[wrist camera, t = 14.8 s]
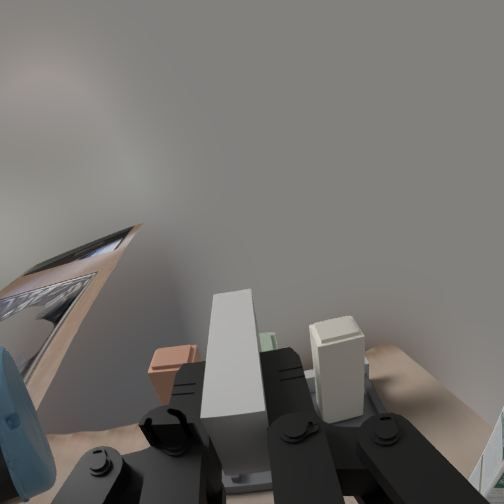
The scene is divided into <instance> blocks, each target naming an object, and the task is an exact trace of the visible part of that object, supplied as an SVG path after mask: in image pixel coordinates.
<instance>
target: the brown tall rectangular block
mask: <svg viewBox="0 0 504 504" xmlns="http://www.w3.org/2000/svg"><path fill="white" fill-rule="evenodd" d="M193 362H202V360H201V357H200V354H199V351H198V347H197V345H193V346H191V345H183V346H176V347H167V348H160V349H158V350H156V351H155V354H154V357H153V359H152V362H151V365H150V368H149V370H148V375H149V377H150V380H151V382H152V384H153V386H154V388H155V391H156V393H157V395H158V397H159V399H160V401H161V403H162V406H165V405H169V402H170V398H171V396H172V395H171V393H172V388H173V383H174V379H175V374H176V373H177V371H178V370H179V369H180V368H181V366H182V365H183V364H184V363H193Z"/></svg>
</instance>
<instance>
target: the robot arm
mask: <svg viewBox="0 0 504 504" xmlns="http://www.w3.org/2000/svg"><path fill="white" fill-rule="evenodd" d="M171 395H172V396H171V398H170V402H169V405H165V406H160V407H157V408H155V409H153V410H151V411H149V412H148V413H147V414H146V415H145V416H143V417H142V419H141V421H140V423H139V427H140V429H141V430H142V432H143V434H144V435H145V437H146V439H147V440H148V442H149V444H150V445H151V446H150V447H149V448H147V449H144V450H141V451H138V452H134V453H130V454H126V455H120V454H119V452H118V451H117V450H115V449H113V448H111V447H105V446H101V447H96V448H93V449H91V450H89V451H88V452H86V453H85V454H84V455H83V456H82V457H81V458H80V460H79V461H78V463H77V464H76V466H75V467H74V469H73V470H72V472H71V473H70V475H69V476H68V478H67V479H66V481H65V483H64V484H63V486H62V487H61V489H60V490H59V492H58V493H57V495H56V496H55V498H54V499H53V501H52V503H51V504H226V491H225V487H224V484H223V482H222V470H223V472H224V474H225V476H230V475H241V474H251V473H259V472H267V471H271V478H272V486H273V495H274V503H275V504H345V502H344V498H343V496H354V498H355V499H356V501H357V502H358V503H359V504H490V503H489V502H488V501H487V500H486V499H485V498H484V497H483V496H482V495H481V494H480V493H479V492H478V491H477V490H476V488H475V487H474V486H473V485H472V484H471V483H470V482H469V481H468V480H467V479H466V478H465V477H464V476H463V475H462V474H461V473H460V472H459V471H458V470H457V469H456V468H455V467H454V466H453V465H452V464H451V463H450V462H449V461H448V460H447V459H446V458H445V457H444V456H443V455H442V454H441V453H440V452H439V451H438V450H437V449H436V448H435V447H434V446H433V445H432V444H431V443H430V442H429V441H428V440H427V439H426V438H425V437H424V436H423V435H422V434H421V433H420V432H419V431H418V430H417V429H416V428H415V427H414V426H413V425H412V424H411V423H410V422H409V421H408V420H407V419H405V418H404V417H402V416H401V415H397V414H393V413H380V414H377V415H374V416H371V417H370V418H368V419H367V420H365V421H364V422H363V423H362V425H361V426H360V427H341V426H334V425H331V424H328V423H326V422H325V421H323V420H322V419H321V418H320V417H319V416H318V415H317V413H316V411H315V408H314V405H313V401H312V398H311V394H310V391H309V387H308V384H307V381H306V377H305V374H304V370H303V367H302V363H301V360H300V357H299V355H298V354H297V353H296V352H294V350H293V349H292V348H290V347H288V348H282V349H277V350H271V351H265V352H262V349H261V342H260V337H259V331H258V326H257V321H256V315H255V309H254V303H253V298H252V292H251V289H246V290H241V291H234V292H228V293H221V294H215V295H214V297H213V305H212V313H211V321H210V330H209V339H208V348H207V357H206V361H202V362H193V363H184V364H183V365H182V366H181V368H180V369H179V370H178V371H177V373H176V374H175V379H174V383H173V388H172V393H171ZM55 481H56V466H55V462H54V458H53V455H52V452H51V449H50V446H49V443H48V440H47V438H46V435H45V433H44V430H43V428H42V425H41V423H40V420H39V417H38V415H37V412H36V410H35V407H34V405H33V403H32V400H31V398H30V395H29V393H28V391H27V388H26V386H25V384H24V381H23V379H22V377H21V375H20V372H19V370H18V368H17V366H16V364H15V362H14V360H13V358H12V357H11V355H10V354H9V352H8V351H6V349H5V348H3V347H2V346H0V504H18V503H21V502H24V503H25V502H28V501H29V499H30V498H32V497H34V496H36V495H39V494H41V493H43V492H46V491H48V490H49V489H51V488H52V487H53V485H54V483H55Z"/></svg>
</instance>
